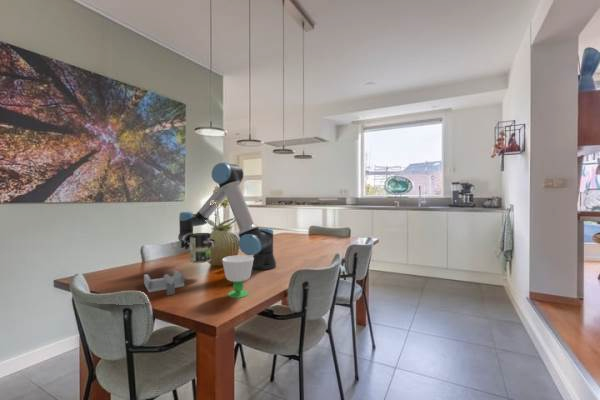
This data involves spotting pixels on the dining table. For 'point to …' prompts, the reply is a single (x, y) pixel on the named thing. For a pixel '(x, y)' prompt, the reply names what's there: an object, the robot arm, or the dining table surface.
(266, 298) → the dining table surface
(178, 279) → the tray
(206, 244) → the coffee can
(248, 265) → the cup
